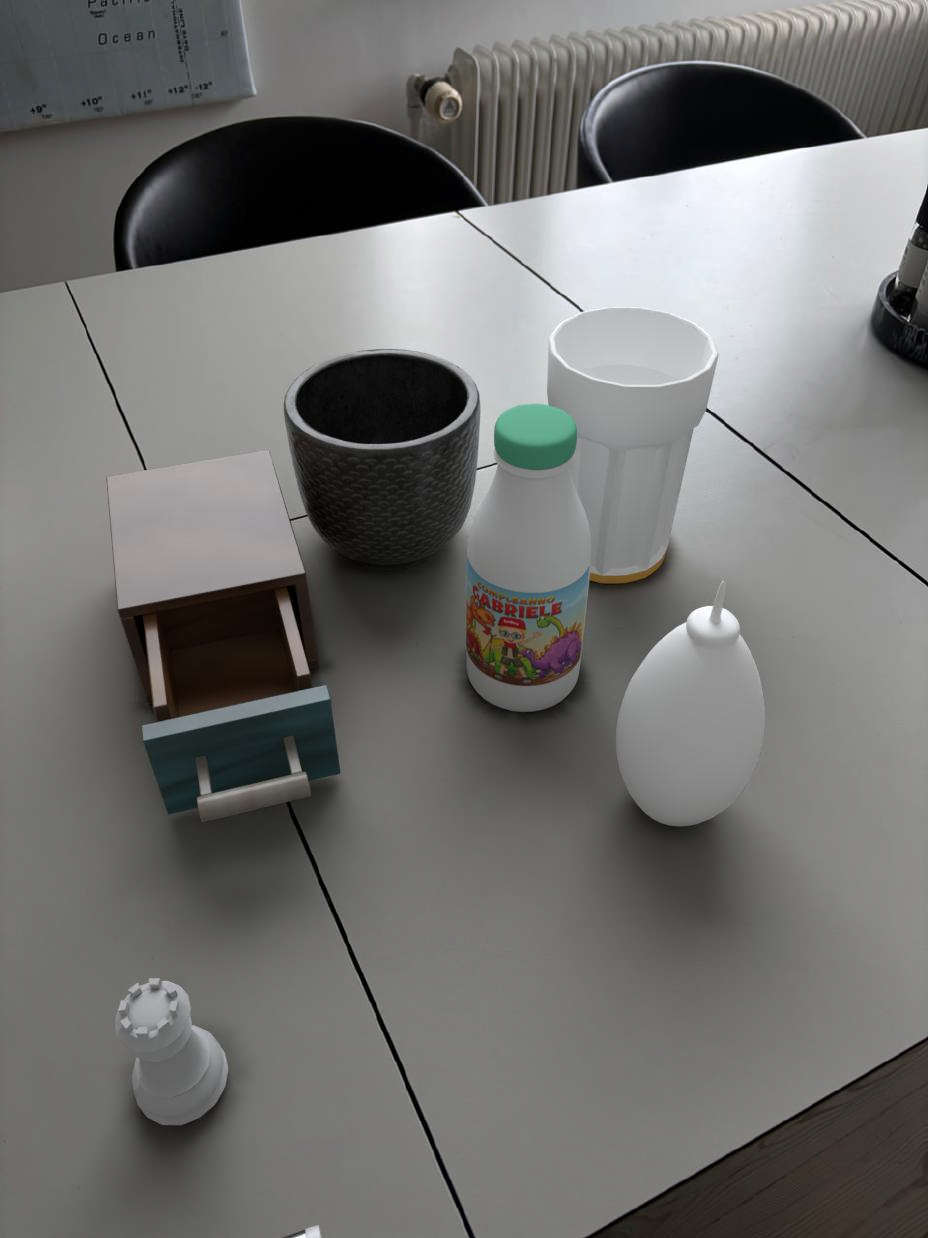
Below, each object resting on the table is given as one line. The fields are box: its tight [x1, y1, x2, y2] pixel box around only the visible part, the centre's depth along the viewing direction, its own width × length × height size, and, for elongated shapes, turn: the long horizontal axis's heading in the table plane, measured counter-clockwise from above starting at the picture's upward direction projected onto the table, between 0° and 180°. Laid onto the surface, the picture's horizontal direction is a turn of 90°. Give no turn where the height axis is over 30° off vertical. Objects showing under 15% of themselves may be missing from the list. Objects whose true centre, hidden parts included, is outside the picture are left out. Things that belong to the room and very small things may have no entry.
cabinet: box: [105, 449, 320, 705], centre depth 70 cm, size 15×12×9 cm
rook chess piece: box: [114, 977, 229, 1126], centre depth 46 cm, size 4×4×8 cm
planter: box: [283, 348, 481, 571], centre depth 75 cm, size 14×14×13 cm
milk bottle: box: [465, 403, 591, 713], centre depth 62 cm, size 8×8×20 cm
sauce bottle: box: [615, 580, 766, 827], centre depth 55 cm, size 8×8×18 cm
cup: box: [546, 306, 719, 584], centre depth 73 cm, size 11×11×17 cm
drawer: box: [140, 586, 342, 823], centre depth 61 cm, size 18×10×7 cm, turn 17°
